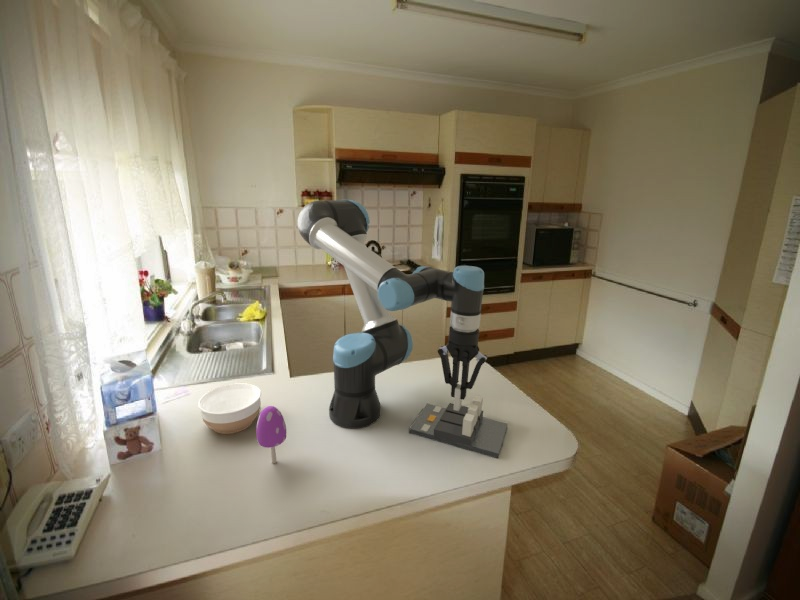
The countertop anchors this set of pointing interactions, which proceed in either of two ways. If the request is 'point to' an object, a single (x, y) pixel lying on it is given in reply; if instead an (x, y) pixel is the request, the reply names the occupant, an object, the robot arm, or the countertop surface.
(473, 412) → the handle
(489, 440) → the panel
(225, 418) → the bowl
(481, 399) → the breaker housings
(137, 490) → the countertop surface
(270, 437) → the toy
